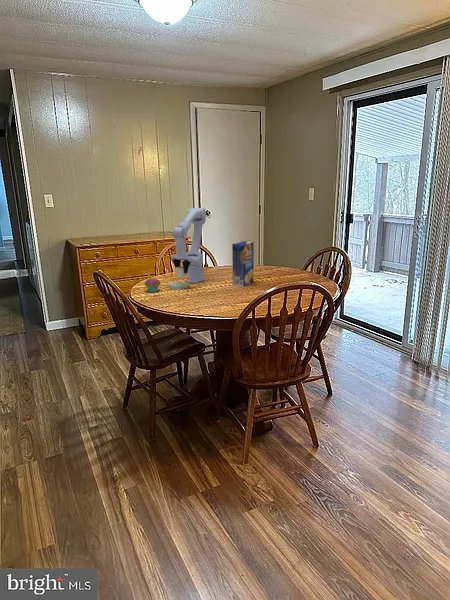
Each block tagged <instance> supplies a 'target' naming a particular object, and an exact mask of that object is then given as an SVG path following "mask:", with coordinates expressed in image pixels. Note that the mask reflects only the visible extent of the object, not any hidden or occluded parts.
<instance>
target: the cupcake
mask: <svg viewBox="0 0 450 600" xmlns="http://www.w3.org/2000/svg"><path fill="white" fill-rule="evenodd" d="M147 275H148V279H146V281H144V286H145V287H146V288H147V291H148V292H149V293H157V292H158V290H159V286H160V285H161V281H160V280H159V279H157V278H151V276H150V275H151V274H150V272H149V270H147Z"/></svg>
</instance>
